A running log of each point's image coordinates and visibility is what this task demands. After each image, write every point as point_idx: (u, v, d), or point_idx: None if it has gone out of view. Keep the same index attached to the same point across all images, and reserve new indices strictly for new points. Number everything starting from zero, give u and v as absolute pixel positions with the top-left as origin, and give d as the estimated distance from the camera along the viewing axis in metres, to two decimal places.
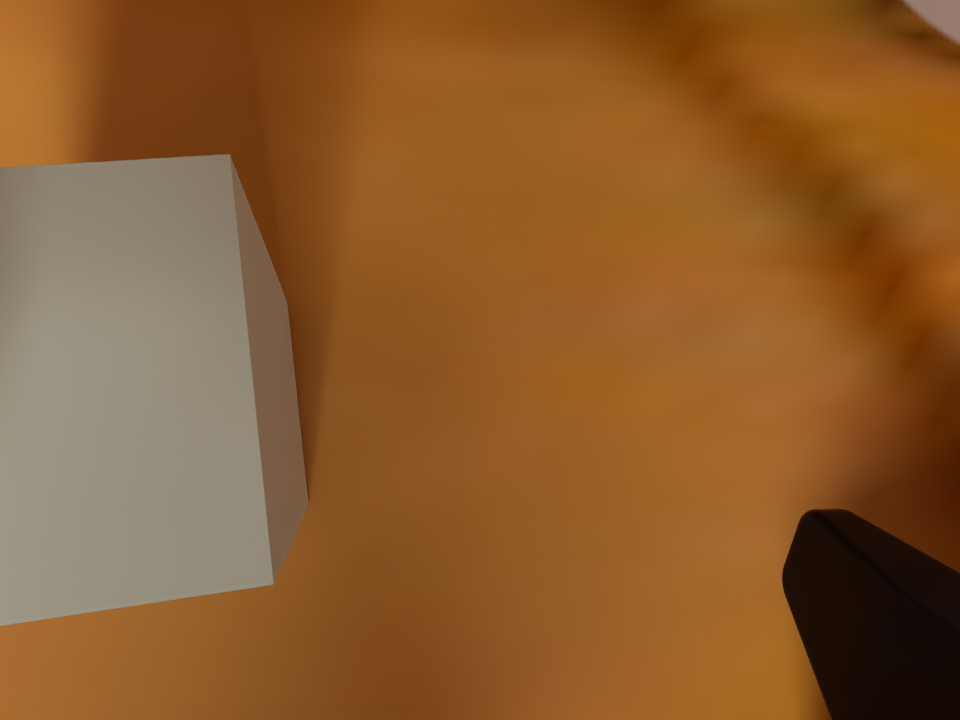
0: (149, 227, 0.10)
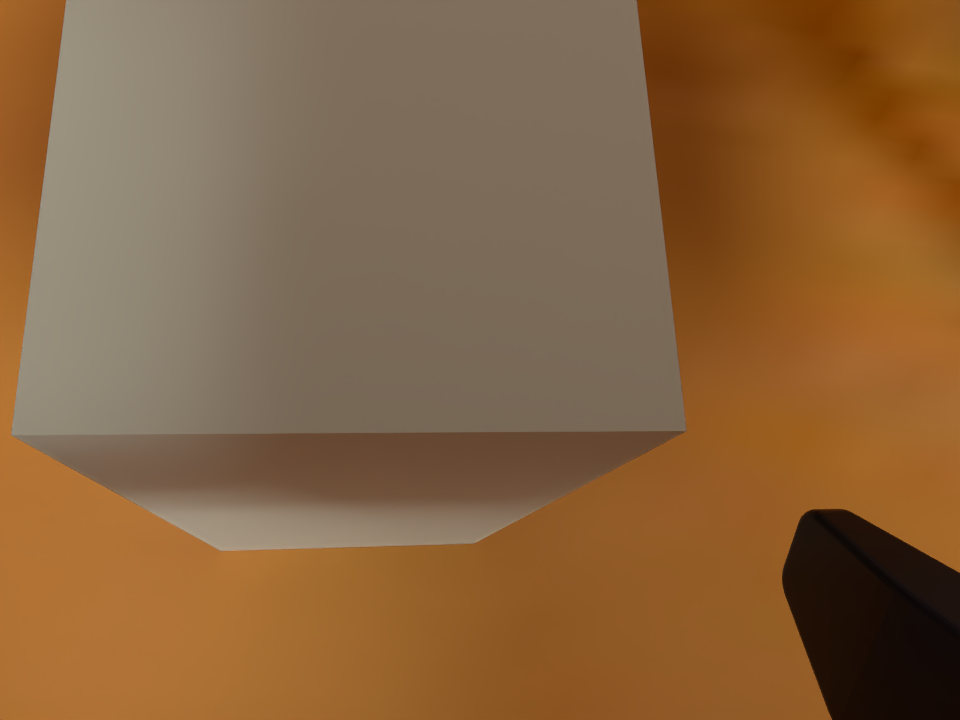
0: None
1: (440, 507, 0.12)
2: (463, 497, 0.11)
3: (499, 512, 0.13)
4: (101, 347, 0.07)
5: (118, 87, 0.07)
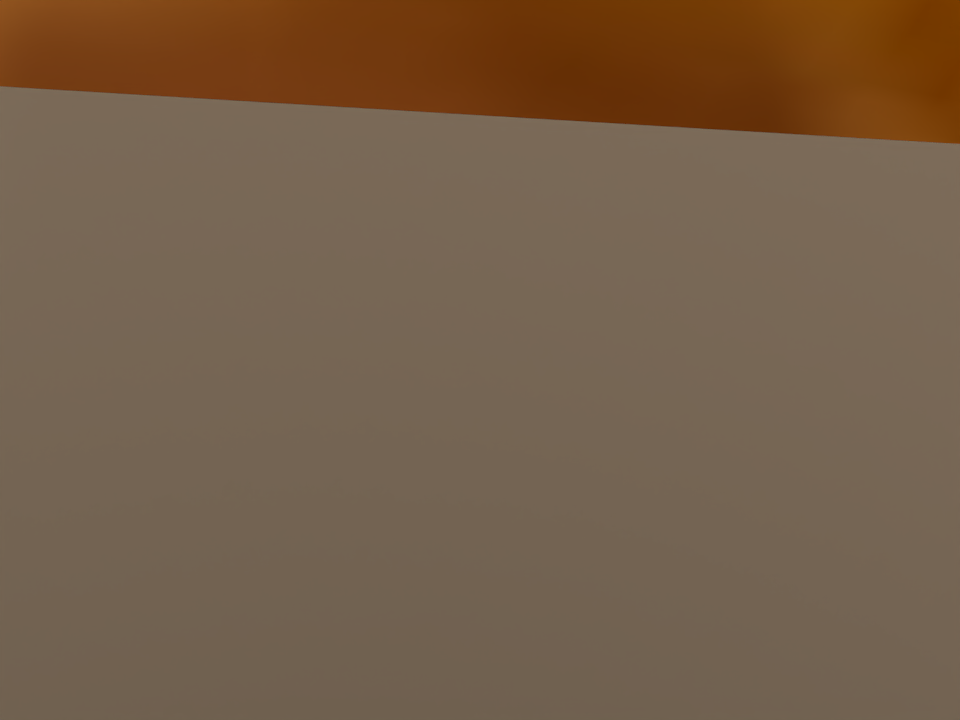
0: (842, 332, 0.03)
1: None
2: None
3: None
4: None
5: None
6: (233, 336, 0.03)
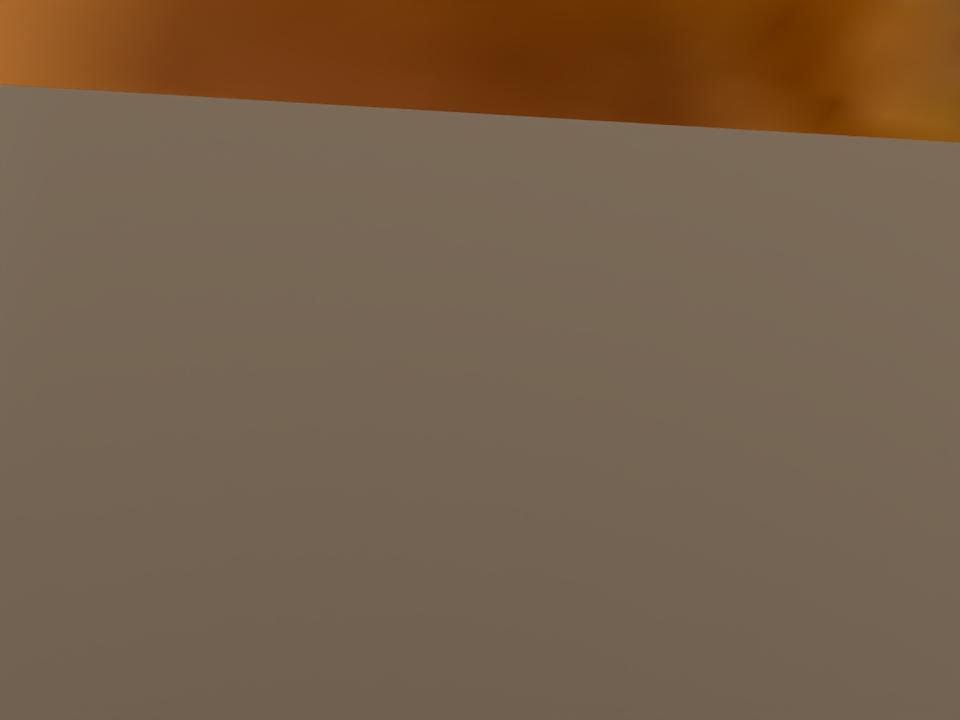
0: (844, 329, 0.03)
1: None
2: None
3: None
4: None
5: None
6: (233, 333, 0.03)
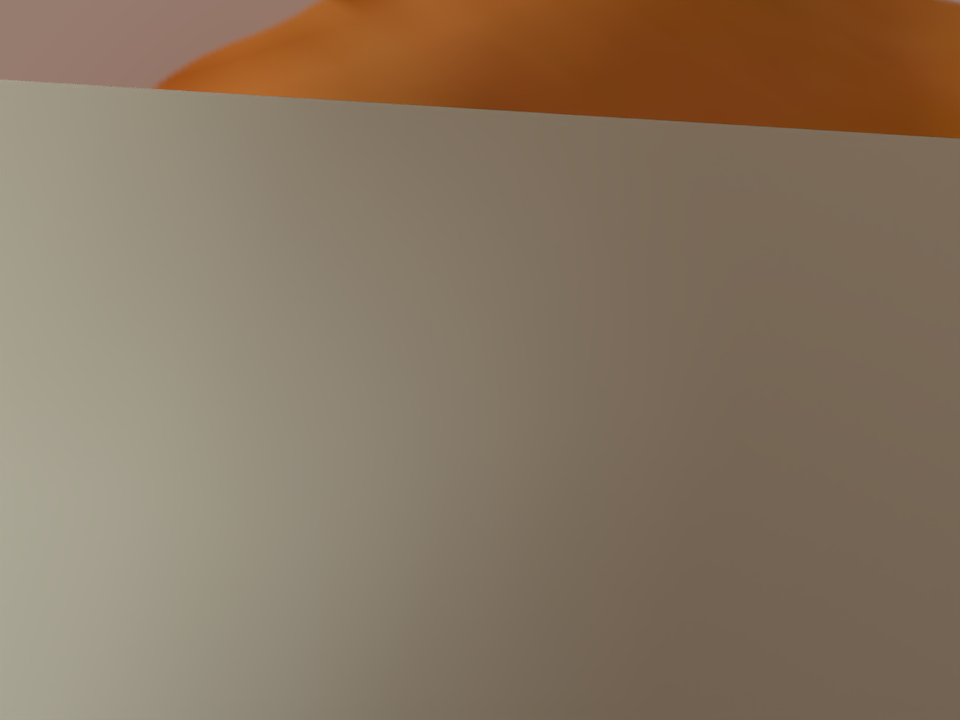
0: (842, 324, 0.03)
1: None
2: None
3: None
4: None
5: None
6: (233, 328, 0.03)
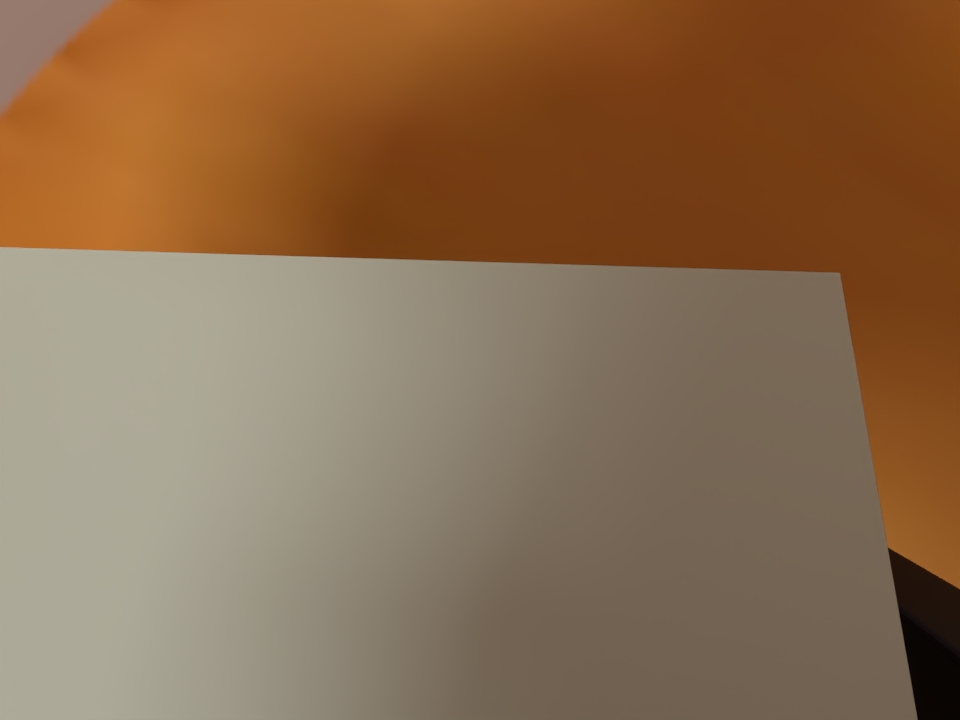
0: (690, 413, 0.05)
1: None
2: None
3: None
4: None
5: None
6: (264, 422, 0.04)
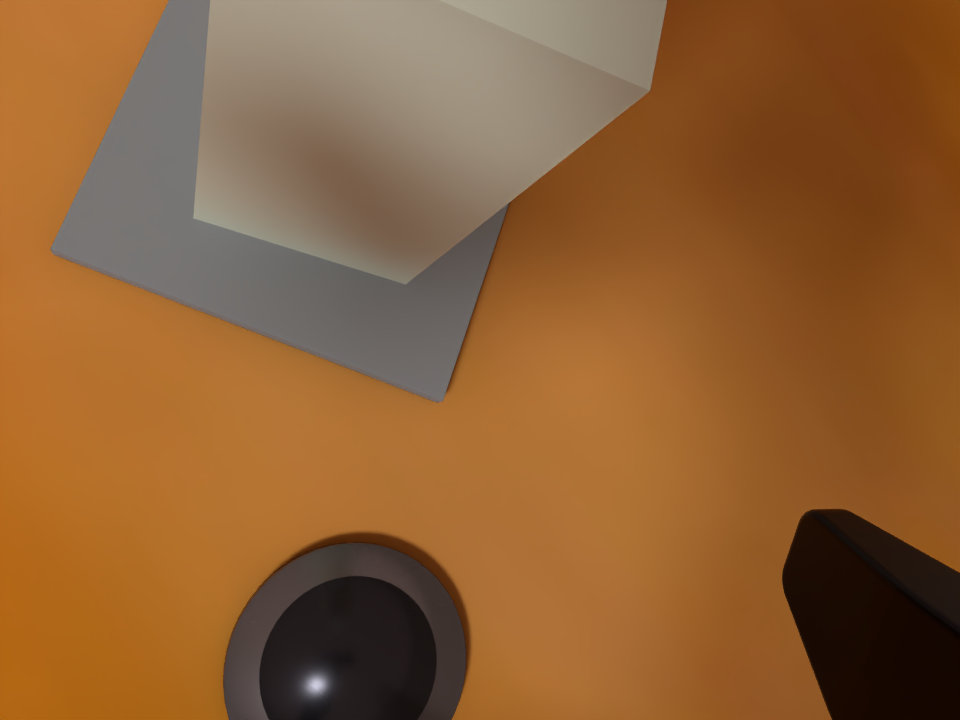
0: None
1: (423, 180, 0.15)
2: (450, 164, 0.14)
3: (460, 212, 0.16)
4: None
5: None
6: None
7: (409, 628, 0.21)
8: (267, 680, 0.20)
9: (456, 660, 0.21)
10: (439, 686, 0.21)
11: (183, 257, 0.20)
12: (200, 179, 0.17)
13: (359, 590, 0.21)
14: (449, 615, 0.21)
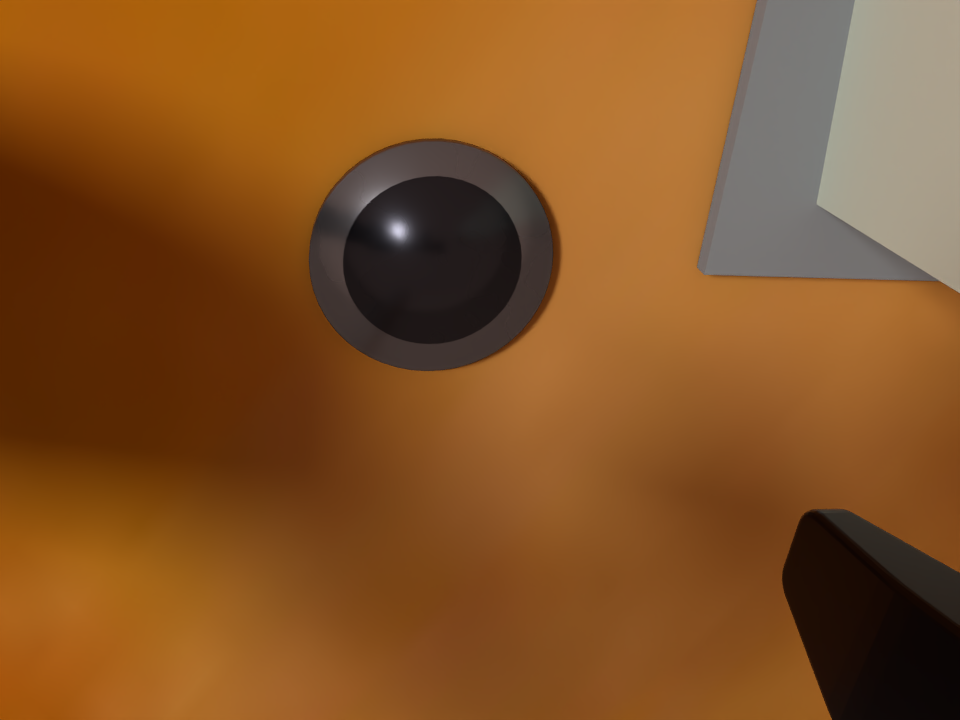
0: None
1: None
2: None
3: None
4: None
5: None
6: None
7: (480, 307, 0.21)
8: (405, 189, 0.19)
9: (459, 357, 0.22)
10: (432, 349, 0.21)
11: None
12: None
13: (507, 250, 0.20)
14: (499, 339, 0.21)
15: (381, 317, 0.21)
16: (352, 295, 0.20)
